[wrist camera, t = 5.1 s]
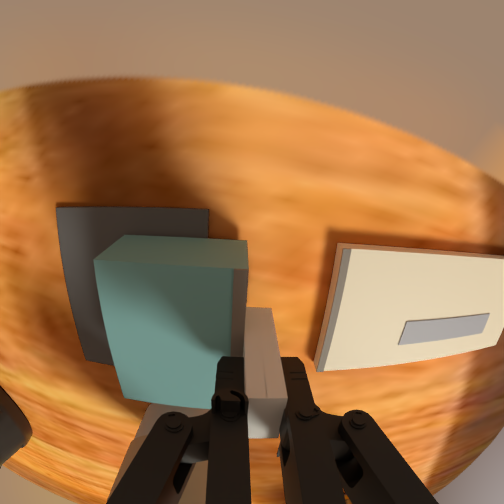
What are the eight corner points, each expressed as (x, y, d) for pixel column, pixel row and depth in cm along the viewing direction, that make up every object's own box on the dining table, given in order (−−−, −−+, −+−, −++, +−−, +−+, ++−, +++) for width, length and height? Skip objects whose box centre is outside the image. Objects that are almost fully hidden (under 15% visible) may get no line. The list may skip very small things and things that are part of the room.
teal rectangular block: (140, 358, 18) (123, 399, 14) (124, 234, 15) (92, 260, 12) (239, 367, 19) (239, 412, 15) (247, 240, 16) (248, 270, 12)
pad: (87, 357, 19) (86, 360, 19) (58, 206, 15) (55, 207, 15) (208, 374, 20) (208, 377, 19) (208, 209, 16) (208, 210, 15)
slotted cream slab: (313, 362, 20) (316, 371, 18) (337, 242, 17) (343, 248, 16) (490, 339, 21) (496, 345, 20) (520, 257, 18) (527, 261, 17)
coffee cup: (114, 404, 21) (66, 543, 7) (189, 374, 20) (158, 570, 6) (179, 453, 24) (163, 576, 10) (253, 432, 22) (261, 581, 8)
